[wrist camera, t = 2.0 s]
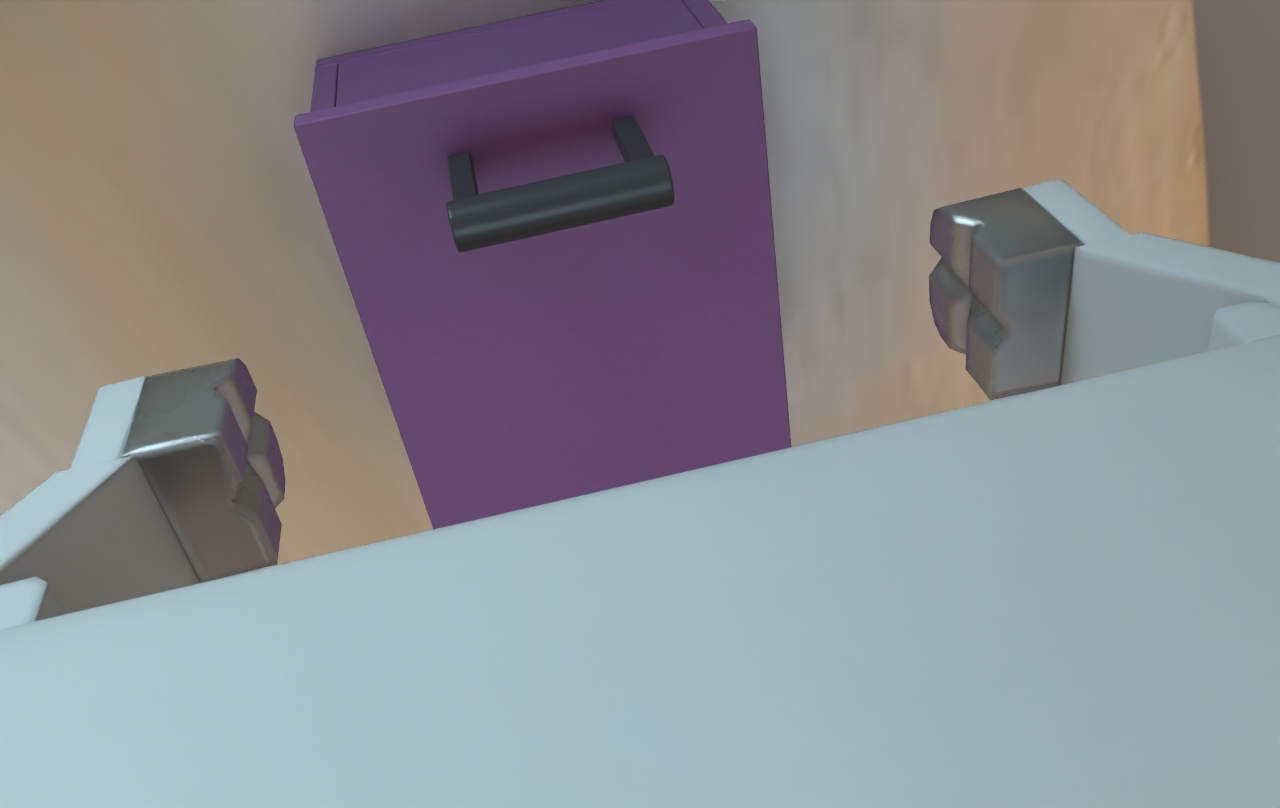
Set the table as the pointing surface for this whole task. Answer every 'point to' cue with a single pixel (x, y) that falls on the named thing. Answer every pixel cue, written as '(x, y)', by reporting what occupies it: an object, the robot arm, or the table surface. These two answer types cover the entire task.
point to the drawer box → (503, 47)
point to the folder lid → (565, 268)
